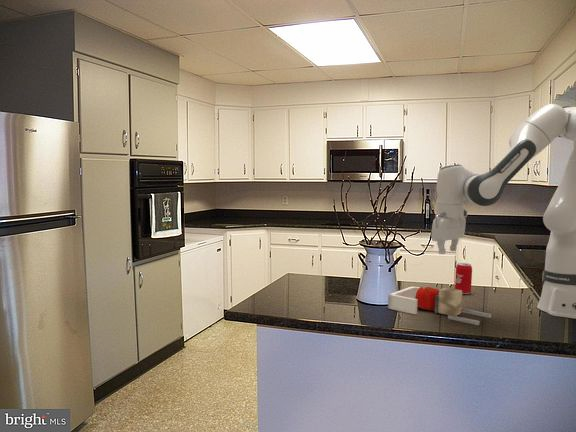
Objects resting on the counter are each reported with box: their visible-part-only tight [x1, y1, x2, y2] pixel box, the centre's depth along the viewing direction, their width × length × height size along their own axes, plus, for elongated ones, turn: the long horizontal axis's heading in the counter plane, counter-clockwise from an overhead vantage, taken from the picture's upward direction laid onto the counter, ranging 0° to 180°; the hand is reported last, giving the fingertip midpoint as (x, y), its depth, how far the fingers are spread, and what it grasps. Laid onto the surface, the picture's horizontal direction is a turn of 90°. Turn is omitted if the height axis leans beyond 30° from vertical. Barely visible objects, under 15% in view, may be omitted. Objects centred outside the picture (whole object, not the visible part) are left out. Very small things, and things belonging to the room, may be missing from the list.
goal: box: [387, 286, 421, 315], centre depth 173 cm, size 10×18×5 cm, turn 139°
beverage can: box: [454, 262, 473, 295], centre depth 194 cm, size 6×6×12 cm
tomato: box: [415, 286, 440, 312], centre depth 170 cm, size 9×9×8 cm
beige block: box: [434, 287, 463, 316], centre depth 164 cm, size 7×7×8 cm
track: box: [447, 307, 492, 326], centre depth 160 cm, size 10×12×1 cm
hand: (447, 252), depth 165 cm, fingers open, 8 cm apart
